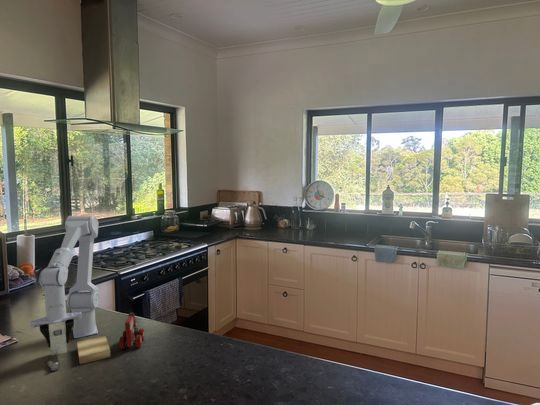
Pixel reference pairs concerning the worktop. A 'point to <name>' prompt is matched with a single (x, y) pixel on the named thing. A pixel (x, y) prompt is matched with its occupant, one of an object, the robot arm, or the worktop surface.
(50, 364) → the bolt
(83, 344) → the tan wooden block
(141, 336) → the toy fire truck
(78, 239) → the robot arm
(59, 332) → the block
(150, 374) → the worktop surface
